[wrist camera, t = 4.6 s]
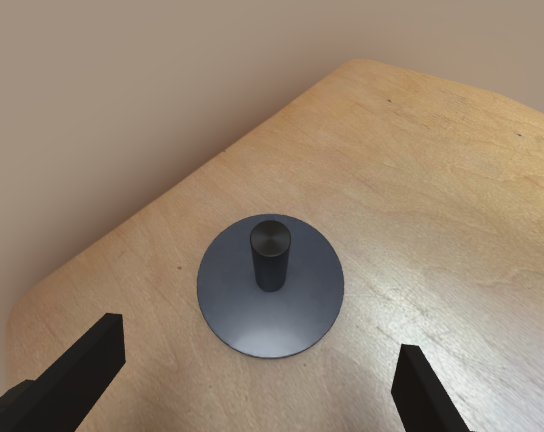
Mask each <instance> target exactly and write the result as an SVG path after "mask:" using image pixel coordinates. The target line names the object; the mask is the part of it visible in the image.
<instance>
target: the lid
mask: <svg viewBox="0 0 544 432" xmlns="http://www.w3.org/2000/svg"><path fill="white" fill-rule="evenodd" d="M197 295H198V301H199V305H200V309H201V311H202V314H203V316H204V318H205V320H206V322H207V324H208V325H209V327H210V328H211V329H212V331H213V332H214V333H215V334H216V335H217V336H218V337H219V338H220V339H221V340H222V341H223V342H224V343H226V344H227V345H228V346H230V347H231V348H233V349H235V350H237V351H239V352H241V353H243V354H246V355H249V356H252V357H257V358H264V359H276V358H284V357H288V356H292V355H295V354H298V353H300V352H302V351H304V350H306V349H308V348H309V347H311V346H313V345H314V344H315V343H316V342H318V341H319V340H320V339H321V338H322V337H323V336H324V335H325V334H326V333H327V332H328V331H329V329H330V328H331V326H332V325H333V323H334V322H335V320H336V318H337V316H338V314H339V311H340V308H341V305H342V301H343V295H344V277H343V271H342V267H341V264H340V261H339V258H338V256H337V254H336V252H335V250H334V249H333V247H332V246H331V244H330V243H329V242H328V241H327V239H326V238H325V237H324V236H323V235H322V234H321V233H320V232H319V231H317V230H316V229H315V228H313V227H312V226H310V225H309V224H307V223H305V222H303V221H301V220H299V219H296V218H293V217H290V216H286V215H279V214H262V215H256V216H251V217H248V218H245V219H242V220H240V221H238V222H236V223H234V224H232V225H231V226H229V227H228V228H226V229H225V230H224V231H223V232H221V233H220V234H219V235H218V236H217V237H216V238H215V239H214V241H213V242H212V243H211V244H210V246H209V247H208V249H207V251H206V252H205V254H204V256H203V259H202V261H201V264H200V267H199V271H198V277H197Z"/></svg>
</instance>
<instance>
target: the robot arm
mask: <svg viewBox="0 0 544 432" xmlns="http://www.w3.org/2000/svg"><path fill="white" fill-rule="evenodd" d="M125 363H126V360H125V346H124V333H123V319H122V314H113V313H106V314H105V315H104V316H103V317H102V318H101V319H100V320H98V321H97V322H96V323H95V324H94V325H93V326H92V327H91V328H90V329H89V330H88V331H87V332H86V333H85V334H84V335H83V336H82V337H81V338H80V339H78V340H77V341H76V342H75V343H74V344H73V345H72V346H71V347H70V348H69V349H68V350H67V351H66V352H65V353H64V354H63V355H62V356H61V357H59V358H58V359H57V360H56V361H55V362H54V363H53V364H52V365H51V366H50V367H49V368H48V369H47V370H46V371H45V372H44V373H43V374H42V375H40V376H39V377H38V378H37V379H36V380H35V381H34V380H25V381H23V382H21V383H20V384H18V385H16V386H15V387H13V388H11V389H10V390H8V391H7V392H6V393H5V394H4V395H3V396H1V397H0V432H75V430H76V429H77V428H78V426H79V425H80V423H81V422H82V421H83V419H84V418H85V417H86V415H87V414H88V413H89V411H90V410H91V409H92V407H93V406H94V405H95V403H96V402H97V400H98V399H99V398H100V396H101V395H102V394H103V392H104V391H105V390H106V388H107V387H108V386H109V384H110V383H111V382H112V380H113V379H114V377H115V376H116V375H117V373H118V372H119V371H120V369H121V368H122V367H123V365H124V364H125ZM391 394H392V397H393V400H394V402H395V405H396V408H397V410H398V413H399V415H400V418H401V421H402V423H403V426H404V428H405V431H406V432H474V431H470V430H469V429H468V427H467V425H466V424H465V422H464V420H463V419H462V417H461V415H460V414H459V412H458V410H457V409H456V407H455V405H454V404H453V402H452V400H451V399H450V397H449V395H448V394H447V392H446V390H445V389H444V387H443V385H442V384H441V382H440V380H439V379H438V377H437V375H436V374H435V372H434V370H433V369H432V367H431V366H430V364H429V362H428V361H427V359H426V357H425V356H424V354H423V352H422V351H421V349H420V347H419V346H416V345H407V344H401V349H400V353H399V358H398V362H397V367H396V371H395V375H394V380H393V384H392V389H391Z"/></svg>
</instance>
